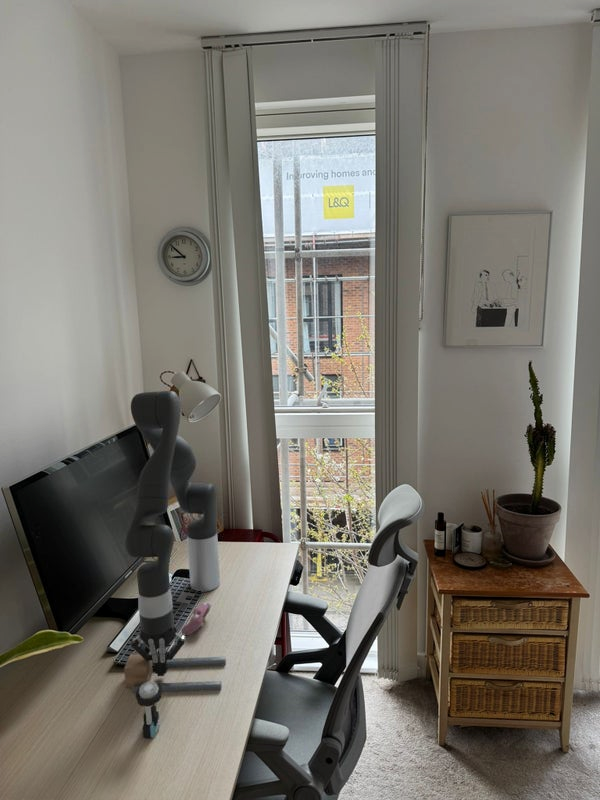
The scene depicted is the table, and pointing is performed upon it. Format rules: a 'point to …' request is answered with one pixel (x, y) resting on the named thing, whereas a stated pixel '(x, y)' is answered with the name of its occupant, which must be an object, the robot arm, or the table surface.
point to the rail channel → (191, 685)
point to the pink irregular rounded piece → (197, 619)
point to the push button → (149, 706)
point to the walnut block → (137, 670)
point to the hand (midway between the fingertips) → (161, 673)
